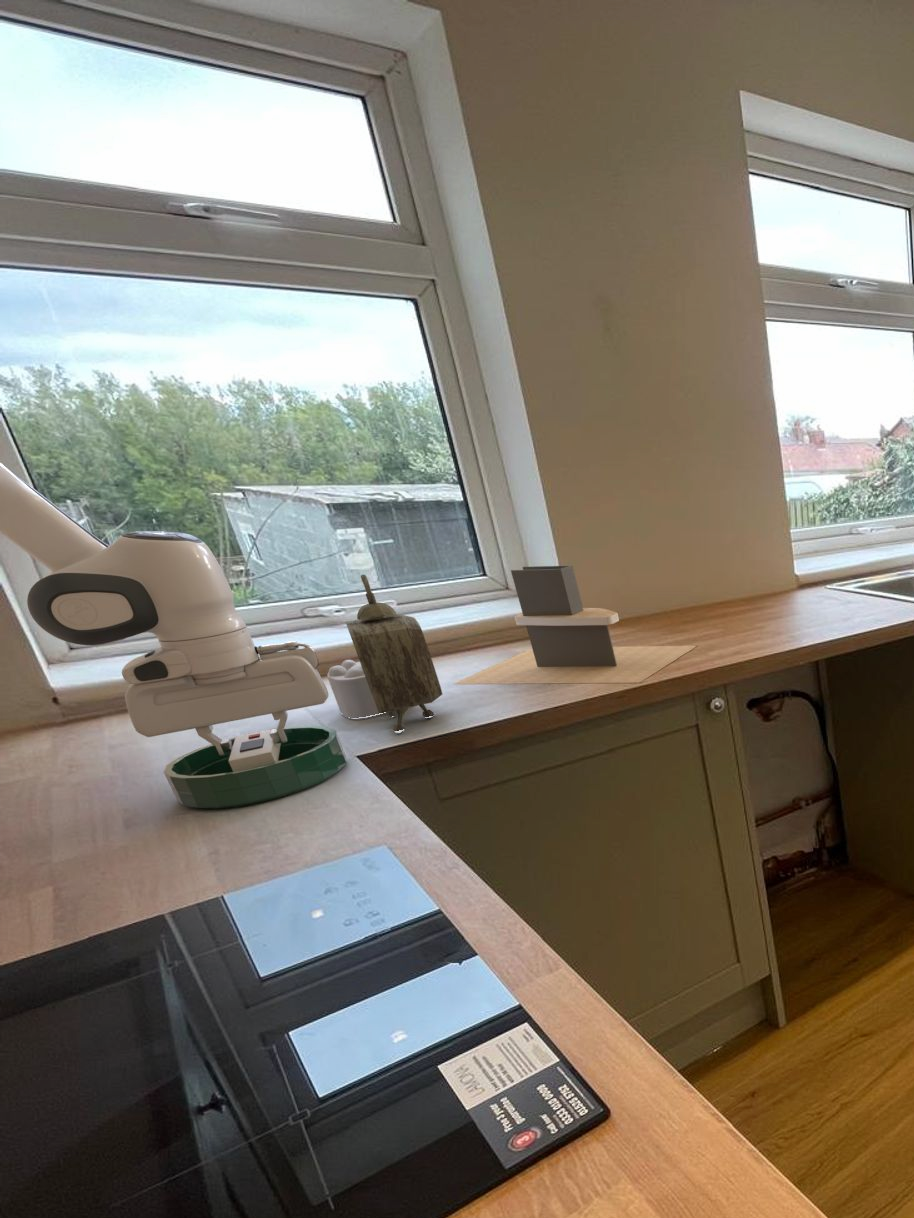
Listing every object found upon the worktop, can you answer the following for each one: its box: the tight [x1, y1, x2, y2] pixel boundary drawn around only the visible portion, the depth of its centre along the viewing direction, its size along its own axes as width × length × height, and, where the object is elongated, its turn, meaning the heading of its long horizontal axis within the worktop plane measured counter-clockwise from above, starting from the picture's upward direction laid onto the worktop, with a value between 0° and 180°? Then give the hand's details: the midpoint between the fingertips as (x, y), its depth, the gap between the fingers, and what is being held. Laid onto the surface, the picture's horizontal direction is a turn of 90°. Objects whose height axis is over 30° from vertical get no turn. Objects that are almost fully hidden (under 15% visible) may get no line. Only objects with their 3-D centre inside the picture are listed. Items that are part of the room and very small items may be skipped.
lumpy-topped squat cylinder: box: [326, 659, 411, 721], centre depth 145 cm, size 10×13×9 cm
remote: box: [228, 728, 281, 772], centre depth 115 cm, size 12×4×2 cm, turn 38°
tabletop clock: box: [345, 574, 443, 732], centre depth 133 cm, size 14×9×25 cm, turn 40°
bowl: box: [163, 725, 347, 810], centre depth 116 cm, size 19×19×5 cm
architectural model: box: [453, 565, 697, 685], centre depth 163 cm, size 38×25×20 cm, turn 85°
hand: (254, 747), depth 115 cm, fingers closed on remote, 4 cm apart
